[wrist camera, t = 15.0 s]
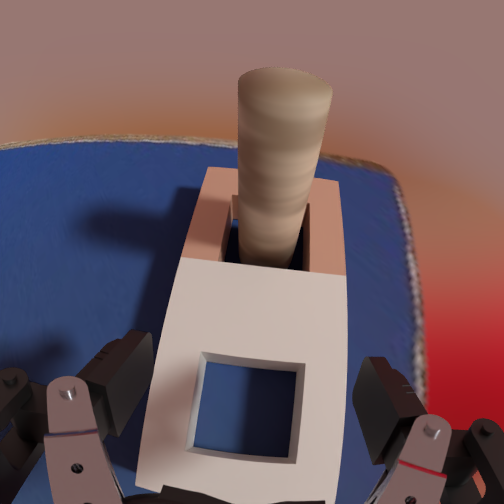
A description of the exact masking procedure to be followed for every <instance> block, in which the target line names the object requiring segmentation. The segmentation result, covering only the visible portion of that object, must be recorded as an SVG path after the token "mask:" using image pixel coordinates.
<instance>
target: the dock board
mask: <svg viewBox="0 0 504 504" xmlns="http://www.w3.org/2000/svg"><path fill="white" fill-rule="evenodd" d="M233 219H238V169H231V168H219V167H208V170H207V173H206V176H205V179H204V182H203V185H202V188H201V191H200V194H199V197H198V201H197V204H196V207H195V210H194V214H193V217H192V220H191V223H190V227H189V230H188V234H187V237H186V241H185V244H184V248H183V251H182V255H181V258H180V262H179V266H178V269H177V273H176V277H175V281H174V285H173V288H172V292H171V296H170V300H169V304H168V308H167V313H166V317H165V321H164V325H163V329H162V334H161V338H160V343H159V347H158V352H157V357H156V361H155V366H154V373H153V378H152V381H151V386H150V391H149V397H148V402H147V408H146V414H145V420H144V426H143V432H142V438H141V445H140V452H139V459H138V467H137V475H136V483H135V486H139V487H142V488H145V489H149V490H152V491H156V492H159V493H161V490H162V487H163V485H167V486H171V487H176V488H180V489H185V490H190V491H195V492H200V493H204V494H207V495H209V496H212V497H215V498H218V499H220V500H223V501H226V502H229V503H232V504H271V503H278V502H284V501H321V500H325V503H326V504H335V498H336V491H337V485H338V477H339V470H340V461H341V452H342V442H343V431H344V418H345V403H346V382H347V288H346V266H345V250H344V236H343V224H342V213H341V203H340V194H339V185H338V181H332V180H326V179H319V178H313V181H312V185H311V189H310V193H309V197H308V201H307V205H306V209H305V213H304V217H303V220H302V224H301V227H303V264H302V271H297V270H288V269H279V268H270V267H261V266H253V265H244V264H236V263H227V262H224V261H225V256H226V250H227V245H228V240H229V235H230V230H231V225H232V220H233ZM206 362H214V363H220V364H227V365H235V366H243V367H251V368H260V369H270V370H281V371H293V372H297V374H296V386H295V397H294V408H293V418H292V427H291V436H290V445H289V454H288V458H284V457H267V456H255V455H245V454H236V453H229V452H222V451H215V450H209V449H203V448H198V447H193V445H194V438H195V431H196V425H197V418H198V411H199V405H200V399H201V392H202V386H203V380H204V374H205V368H206Z"/></svg>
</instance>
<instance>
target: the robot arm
mask: <svg viewBox="0 0 504 504" xmlns="http://www.w3.org/2000/svg"><path fill="white" fill-rule="evenodd" d="M153 373H154V359H153V344H152V335H151V333H148V332H143V331H139V330H134V329H131V330H130V331H129V332H128V333H127V334H126V335H125V336H124V337H123V338H122V339H116V340H114V341H111V342H109V343H107V344H106V345H105V346H104V347H103V348H102V349H101V350H100V352H98V353H97V354H96V355H95V356H94V358H92V359H91V361H90V362H89V363H88V364H87V365H86V366H85V367H84V368H83V369H82V370H81V371H80V372H79V373H78V374H77V375H76V376H75V377H73V376H64V377H59V378H57V379H55V380H53V381H52V382H51V383H50V384H49V385H48V386H44V385H38V384H32V383H30V382H29V379H28V376H27V374H26V372H25V371H24V370H22V369H19V368H14V367H11V368H5V369H3V370H1V371H0V432H1V431H2V429H3V428H4V427H5V426H6V425H7V423H8V422H9V421H11V423H12V425H13V427H12V428H11V430H10V431H9V432H8V433H7V434H6V436H5V437H4V438H3V439H2V441H1V442H0V504H11V503H12V501H13V500H14V498H15V496H16V495H17V493H18V491H19V490H20V488H21V487H22V485H23V483H24V482H25V480H26V478H27V477H28V475H29V474H30V472H31V471H32V469H33V467H34V466H35V464H36V463H37V461H38V460H39V458H40V457H41V455H42V454H43V452H44V451H45V455H46V462H47V469H48V475H49V481H50V486H51V492H52V496H53V501H54V504H232V503H229V502H226V501H223V500H220V499H218V498H215V497H212V496H209V495H207V494H204V493H200V492H195V491H190V490H185V489H180V488H176V487H171V486H167V485H163V487H162V490H161V493H160V494H159V493H149V494H138V495H132V496H128V497H124V494H123V492H122V490H121V487H120V485H119V483H118V480H117V478H116V475H115V472H114V469H113V467H112V464H111V461H110V458H109V455H108V452H107V449H106V446H105V443H104V439H105V437H106V435H107V434H109V435H112V436H115V437H118V438H119V436H120V434H121V432H122V431H123V429H124V427H125V425H126V424H127V422H128V420H129V419H130V417H131V415H132V413H133V412H134V410H135V408H136V406H137V405H138V403H139V401H140V400H141V398H142V396H143V394H144V393H145V391H146V389H147V388H148V386H149V384H150V383H151V381H152V378H153ZM352 401H353V406H354V408H355V411H356V414H357V417H358V420H359V423H360V426H361V430H362V433H363V436H364V439H365V442H366V445H367V448H368V451H369V455H370V458H371V461H372V464H373V465H378V464H385V466H386V469H385V470H384V472H383V473H382V475H381V477H380V479H379V480H378V482H377V484H376V485H375V487H374V489H373V490H372V492H371V494H370V495H369V497H368V498H367V500H366V502H365V503H364V504H439V501H440V502H441V504H504V432H503V431H502V429H501V428H500V427H499V425H498V424H497V423H495V422H494V421H492V420H489V419H484V418H482V419H477V420H475V421H474V422H473V423H472V425H471V427H470V428H469V430H453V429H451V427H450V425H449V423H448V422H447V421H446V420H444V419H443V418H441V417H439V416H436V415H431V414H428V413H427V411H426V410H425V408H424V407H423V405H422V403H421V402H420V400H419V398H418V397H417V395H416V394H415V393H414V390H413V389H412V387H411V386H410V384H409V382H408V381H407V379H406V378H405V376H404V375H402V374H401V373H400V372H398V371H397V370H396V369H392V368H391V366H390V364H389V363H388V361H387V359H386V358H385V357H365V358H364V360H363V362H362V365H361V368H360V371H359V374H358V377H357V380H356V383H355V386H354V389H353V394H352ZM477 470H478V471H479V472H480V475H481V476H482V479H483V481H484V483H485V485H486V492H485V495H484V497H483V498H481V495H480V493H479V491H478V489H477V486H476V484H475V482H474V480H473V478H472V476H473V475H474V474H475V473H476V472H477ZM271 504H326V503H325V500H321V501H284V502H278V503H271Z"/></svg>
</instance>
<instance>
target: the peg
mask: <svg viewBox="0 0 504 504" xmlns="http://www.w3.org/2000/svg"><path fill="white" fill-rule="evenodd" d="M332 94H333V91H332V88H331V87H330V85H329V84H328V83H327V82H325V81H324V80H323V79H321V78H319V77H317V76H315V75H313V74H310V73H307V72H304V71H300V70H296V69H290V68H280V67H272V68H271V67H269V68H260V69H255V70H252V71H249V72H247V73H245V74H243V75H242V76H241V77H240V78H239V80H238V232H239V259H240V262H241V264H244V265H253V266H261V267H270V268H279V269H287V268H288V267H289V265H290V264H291V261H292V257H293V254H294V250H295V247H296V243H297V239H298V235H299V232H300V228H301V224H302V220H303V217H304V213H305V209H306V205H307V201H308V197H309V193H310V189H311V185H312V181H313V177H314V173H315V169H316V165H317V161H318V157H319V152H320V148H321V144H322V139H323V135H324V131H325V126H326V122H327V117H328V113H329V108H330V104H331V99H332Z"/></svg>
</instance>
